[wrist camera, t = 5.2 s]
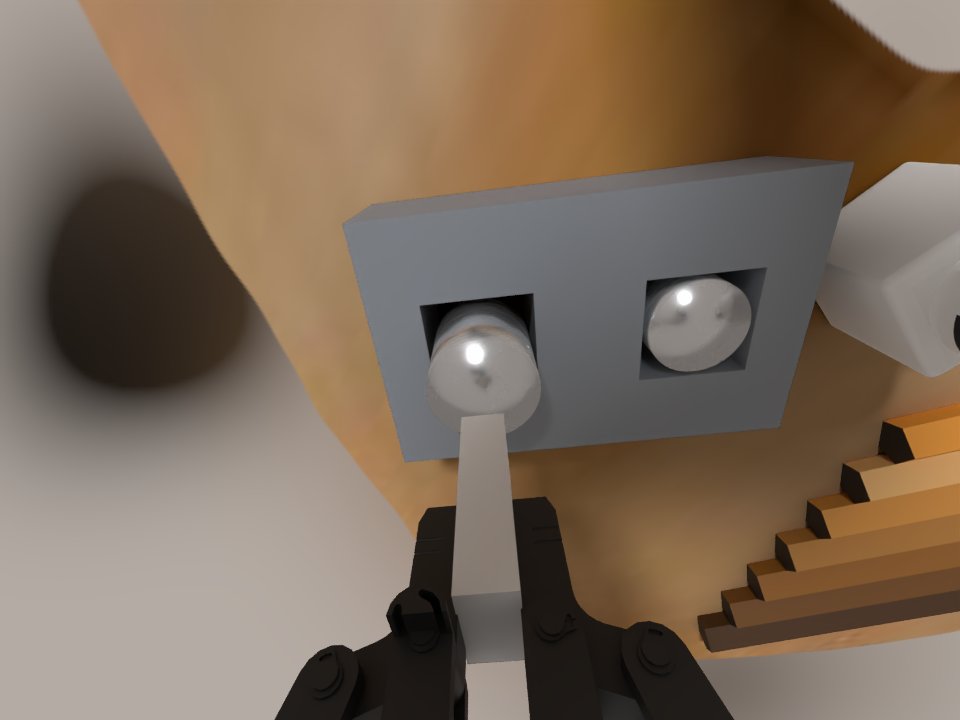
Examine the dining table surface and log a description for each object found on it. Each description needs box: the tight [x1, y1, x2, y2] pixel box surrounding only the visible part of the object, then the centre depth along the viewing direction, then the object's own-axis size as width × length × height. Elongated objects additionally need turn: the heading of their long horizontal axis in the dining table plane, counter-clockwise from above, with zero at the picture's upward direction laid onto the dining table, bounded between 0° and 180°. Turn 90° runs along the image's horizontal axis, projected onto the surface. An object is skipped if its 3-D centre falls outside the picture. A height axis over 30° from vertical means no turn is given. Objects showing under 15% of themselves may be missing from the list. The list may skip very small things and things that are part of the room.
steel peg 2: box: [642, 273, 751, 372], centre depth 23 cm, size 5×5×5 cm
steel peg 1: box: [426, 298, 541, 434], centre depth 20 cm, size 5×5×5 cm
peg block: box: [342, 156, 854, 462], centre depth 24 cm, size 14×22×6 cm, turn 97°
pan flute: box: [697, 403, 960, 653], centre depth 36 cm, size 25×3×25 cm
